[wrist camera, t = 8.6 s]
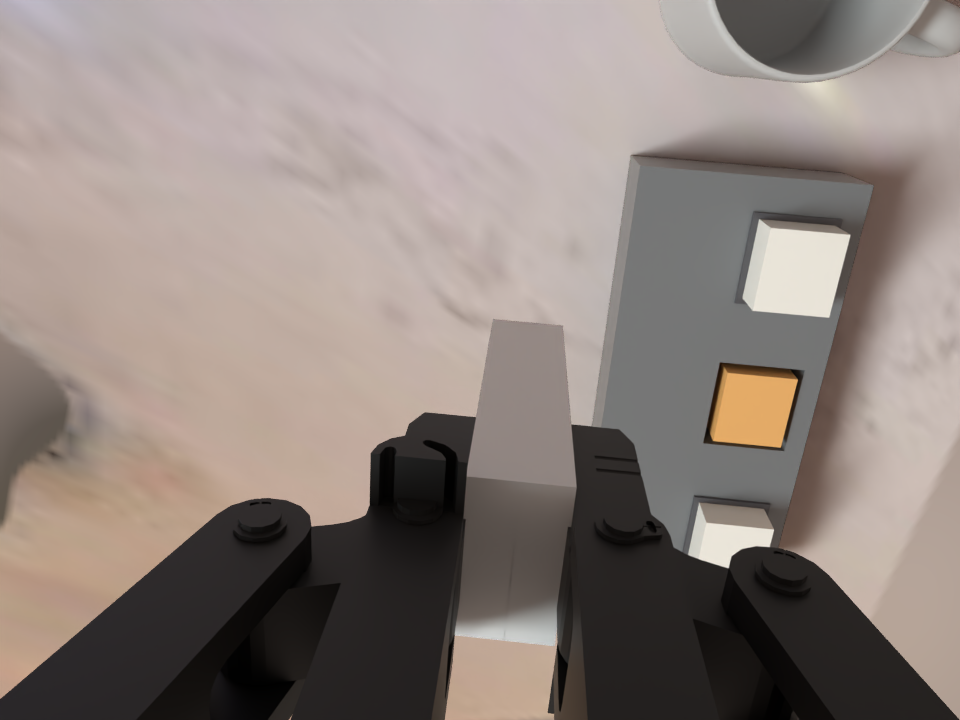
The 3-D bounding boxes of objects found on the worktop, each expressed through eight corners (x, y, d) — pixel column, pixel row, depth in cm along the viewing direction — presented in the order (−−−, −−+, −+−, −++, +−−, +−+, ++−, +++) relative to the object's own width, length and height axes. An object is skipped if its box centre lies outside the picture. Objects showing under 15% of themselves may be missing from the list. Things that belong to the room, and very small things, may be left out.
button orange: (714, 350, 43) (727, 372, 40) (779, 356, 42) (798, 379, 40) (701, 415, 44) (713, 440, 41) (764, 420, 44) (780, 447, 41)
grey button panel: (630, 155, 40) (645, 172, 34) (842, 172, 40) (893, 193, 34) (575, 536, 49) (580, 600, 44) (748, 554, 49) (775, 621, 43)
